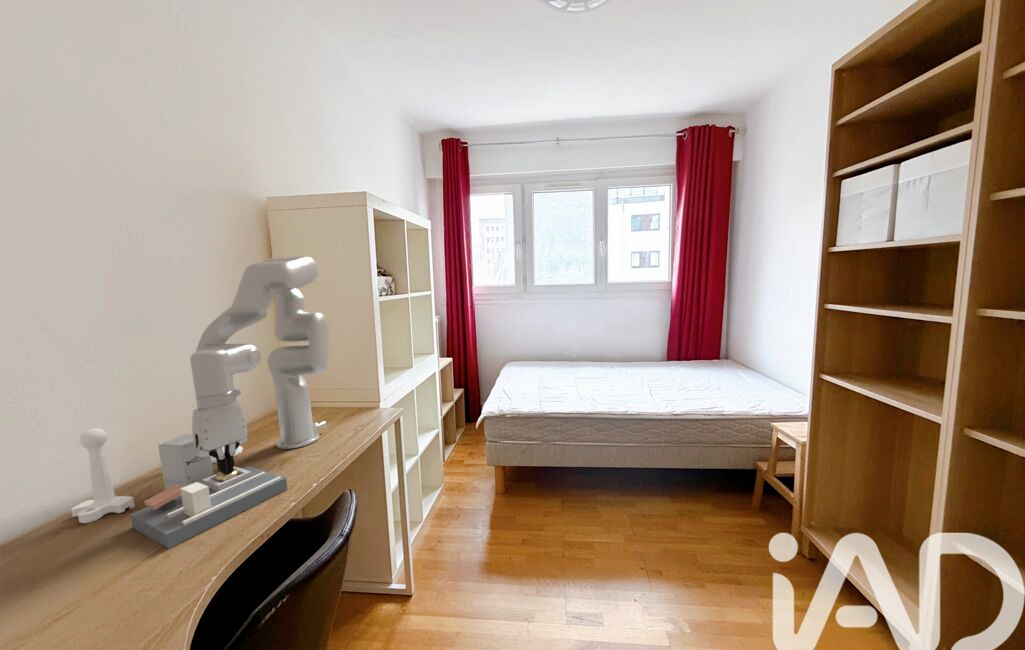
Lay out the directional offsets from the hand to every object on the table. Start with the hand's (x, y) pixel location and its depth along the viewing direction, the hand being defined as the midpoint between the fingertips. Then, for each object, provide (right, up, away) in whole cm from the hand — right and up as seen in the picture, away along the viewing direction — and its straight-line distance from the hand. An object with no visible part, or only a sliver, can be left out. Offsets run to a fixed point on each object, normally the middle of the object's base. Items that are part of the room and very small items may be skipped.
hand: (226, 471), depth 98 cm
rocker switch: (-6, -2, -11) cm, 12 cm away
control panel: (+1, -6, -6) cm, 8 cm away
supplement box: (-14, -6, +6) cm, 16 cm away
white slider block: (+3, -3, -13) cm, 13 cm away
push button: (0, -2, 0) cm, 2 cm away
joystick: (-25, -8, -6) cm, 27 cm away
